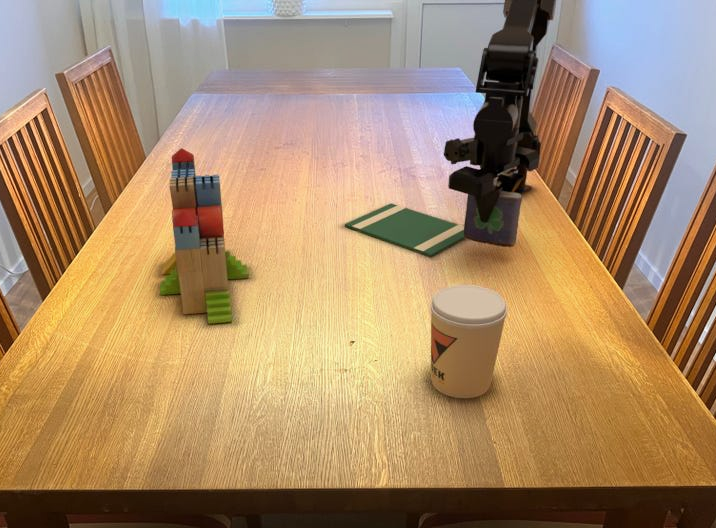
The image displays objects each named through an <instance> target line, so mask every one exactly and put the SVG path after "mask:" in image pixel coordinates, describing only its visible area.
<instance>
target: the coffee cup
mask: <svg viewBox="0 0 716 528" xmlns="http://www.w3.org/2000/svg"><path fill="white" fill-rule="evenodd" d="M429 307H430V308H429V309H430V312H431V314H430V379H431V383H432V385H433V387H434V388H435V389H436V391H438V392H439V393H441V394H443V395H445V396H448V397H451V398H456V399H475V398H477V397H480V396H482V395H484V394H485V393H487V392H488V390H489V389H490V387H491V384H492V380H493V376H494V371H495V366H496V363H497V362H496V361H497V358H498V353H499V348H500V343H501V340H502V335H503V329H504V325H505V320H506V317H507V315H508V306H507V303H506V301H505V299H504V298H503V296H502V295H501V294H499V292H497V291H495V290H493V289H491V288H487V287H486V286H485V287H484V286H480V285H474V284H455V285H450V286H449V285H448V286H445V287H443V288H441V289H439V290H438V291H436V292H435V294H434V295H433V298H432V299H431V301H430V304H429Z"/></svg>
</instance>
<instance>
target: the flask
mask: <svg viewBox="0 0 716 528" xmlns="http://www.w3.org/2000/svg"><path fill="white" fill-rule="evenodd" d="M500 184H501V182H500V181H497V185H496V186H499V185H500ZM522 202H523V196H522V194H521V195H520V194H519V193H512V192H505V191H501V193H500V195H499V198H498V200H497V202H496V204H495V207H494V209H493V211H492V214H491V216H490V218H489V220H488V222H487V223H484V222H481V220H480V216H479V212H478V208H477V204H476V200H475V197H474V196H473V195H469V194H467V199H466V207H465V216H464V223H463V226H464V238H466V239H465V240H469V241H473V242H476V243H478V244H479V243H480V244H488V245H491V246H497V247H502V248H512V247H514V246H515V245H516V243H517V237H518V236H517V235H518V228H519V221H520V215H521V205H522Z"/></svg>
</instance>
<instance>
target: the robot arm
mask: <svg viewBox="0 0 716 528" xmlns="http://www.w3.org/2000/svg"><path fill="white" fill-rule="evenodd" d="M556 6H557V0H504V1H503V7H502V8H503V9H502V14H503V17H504V18H505V20H504V24H503V26H502V29H500V30H498V31H495V32H494V33H493V34H492V35H491V37H490V40H489V42H488V45H487V47H484V48H483V50H482V55H481V60H480V65H479V70H478V75H477V81H476V86H475V93H476V94H485V95H484V102H483V103H482V105H481V107H480V108H479V110H478V112H477V114H476V115H475V117H474V119H473V124H472V126H473V132H474V135H473V137H469V138H464V139H461V138H459V137H458V138H455V139H453V138H452V139H449V140H447V141H445V144H444V149H443V157H444V158H445V160H446V161H447V162H450V164H451V165H456V164H457V163H463V162H468V161H469V165H471V166H475V167H476V166H479V168H475V167H471V166H467V165H466V166H464V167H460V168H459V169H457V170H455V171H453V172H451V174H449V175H448V186H447V188H448V189H449V190H453V191H456V192H459V193H463V194H465V195H468V194H469V195H473V196H474V197H475V200H476V204H477V208H478V212H479V216H480V220H481V222H484V223H487V222H488V220H489V218H490V216H491V214H492V211H493V209H494V207H495V204H496V202H497V200H498V198H499V195H500V193H501V191H505V192H512V193H519V194H520V195H521V196H522V195H523V194H524V193H526V192H529V191H530V190H532V188H533V185H529V184H526V183H527V175H528V172H532V171H534V170H537V169H539V164H540V160H541V159H540V158H541V147H542V146H541V145H542V142H541V141H540V138H539V137H540V135H539V134H537V127H538V125H537V124H538V123H537V120H536V119H535V118H534V116H533V114H532V112H531V109H532V100H533V92H534V91H533V90H534V87H535V82H536V77H537V71H538V67H539V61H540V60H539V58H538V49H539V44H540V43H541V41H542V40H543V39H544V38H545V36H547V32H548V29H549V25H550V22H551V21H554V19H555V13H556ZM497 181H500V182H501V184H500V185H499V186H496V185H497Z"/></svg>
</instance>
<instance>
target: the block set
mask: <svg viewBox="0 0 716 528" xmlns="http://www.w3.org/2000/svg"><path fill="white" fill-rule="evenodd" d="M171 168H172V169H171V171H170V172H171V173H170V176H171V177H170V178H169V182H168V183H169V185H168V186H169V193H170V200H171V206H172V209H171V218H172V219H171V220H172V221H171V222H172V231H173V240H174V253H173V254H172V255H171V256H170V257H169V258H168V259H167V261H166V262H165V263H163V265H162V269H161V270H162V271H161V274H162V276H164V275H165V280H164V279H163V280H161V281H160V287H159V291H160V295H161V296H165V295H178V294H180V297H181V304H182V312H183V315H192V314H203V313H206V315H207V323H208V324H222V323H230V322H233V316H232V306H231V297H230V290H229V280H240V279H248V278H249V269H248V264H242V263H243V262H242V260H241V259H238V260H237V257H236V255H231V251H229V250H226V244H225V230H224V215H223V204H222V193H221V180H220V175H219V174H212V175H210V174H205V175H197V174H196V166H195V156H194V154H193V153H192V152H190V151H188V150H187V149H185V148H179V149H178V150H176V151H175V153H173V154H172V155H171Z"/></svg>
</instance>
